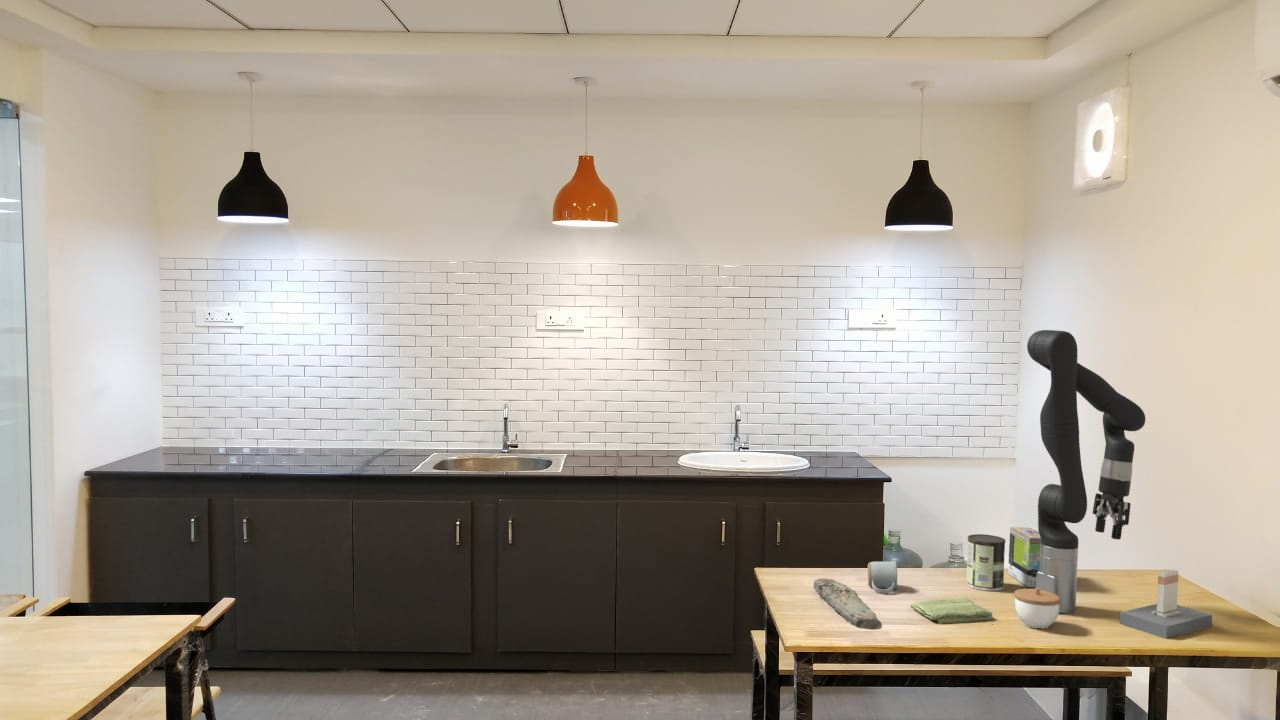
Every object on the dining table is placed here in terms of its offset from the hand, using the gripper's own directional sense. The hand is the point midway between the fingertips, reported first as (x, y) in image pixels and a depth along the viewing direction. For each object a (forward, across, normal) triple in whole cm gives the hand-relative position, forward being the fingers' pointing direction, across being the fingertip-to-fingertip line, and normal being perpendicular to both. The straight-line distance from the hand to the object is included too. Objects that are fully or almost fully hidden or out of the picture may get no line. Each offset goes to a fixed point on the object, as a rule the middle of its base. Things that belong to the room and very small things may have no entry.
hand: (1107, 535), depth 250 cm
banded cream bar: (+19, +16, +9) cm, 26 cm away
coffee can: (+22, -16, -25) cm, 37 cm away
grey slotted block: (+19, +16, +9) cm, 26 cm away
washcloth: (+25, +10, -44) cm, 51 cm away
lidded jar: (+22, +17, -25) cm, 38 cm away
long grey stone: (+27, +5, -70) cm, 76 cm away
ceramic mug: (+25, -12, -55) cm, 62 cm away
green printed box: (+20, -22, -8) cm, 31 cm away
